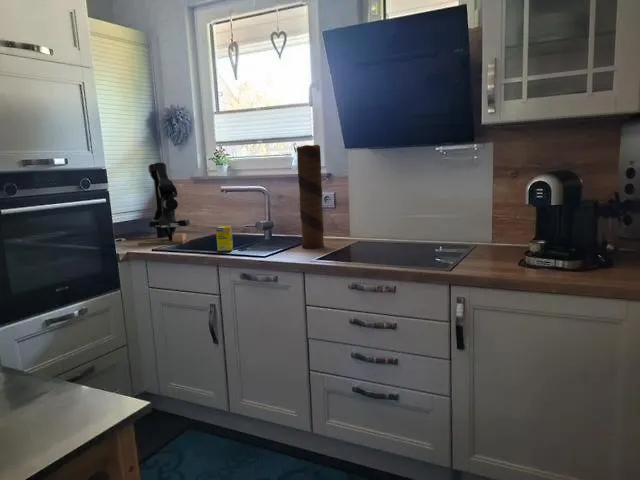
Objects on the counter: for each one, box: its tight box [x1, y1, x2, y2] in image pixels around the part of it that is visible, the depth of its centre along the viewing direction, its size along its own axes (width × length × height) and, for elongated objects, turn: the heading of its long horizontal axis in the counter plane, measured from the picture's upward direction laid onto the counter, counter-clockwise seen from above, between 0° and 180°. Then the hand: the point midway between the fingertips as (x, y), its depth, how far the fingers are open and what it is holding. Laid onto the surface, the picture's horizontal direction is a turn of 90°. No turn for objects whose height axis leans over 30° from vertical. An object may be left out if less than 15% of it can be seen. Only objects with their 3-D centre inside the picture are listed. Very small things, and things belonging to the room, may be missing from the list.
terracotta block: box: [172, 233, 187, 242], centre depth 255 cm, size 5×5×4 cm
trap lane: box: [137, 237, 191, 247], centre depth 256 cm, size 12×22×2 cm, turn 87°
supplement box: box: [215, 225, 234, 253], centre depth 230 cm, size 6×6×11 cm
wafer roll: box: [296, 144, 325, 249], centre depth 229 cm, size 10×11×45 cm
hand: (170, 240), depth 255 cm, fingers closed
